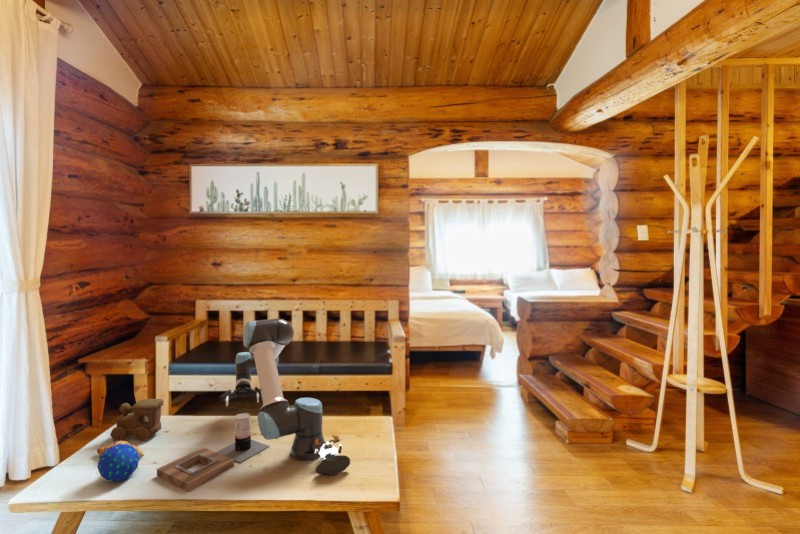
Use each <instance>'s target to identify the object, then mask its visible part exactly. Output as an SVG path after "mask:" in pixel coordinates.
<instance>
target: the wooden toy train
mask: <svg viewBox="0 0 800 534" xmlns="http://www.w3.org/2000/svg"><path fill="white" fill-rule="evenodd" d="M164 404H165V403H164V399H163V398H146V399H145V398H144V399H141V400H139V401H138V402H136V403H134V404H133V405H132V406H131V405H130V403H128V402H124V403H122V404H121V405H120V407H119V411H120V413H121V415H120V416H118V417H117V418H116V427H113V428H112V430H111V431H110V433H109V436H110V438H111V439H112V440H113V441H115V442H116V441H125V439H126V438H127V437H134V439H135V440H136V441H137V442H145V441H147V440H148V439H149V437H151V436H154V435H155V434H156V433H158V432H159V431H160V430H162V422H161V417H162V415H161V414H162V406H164ZM129 412H130V413H129Z"/></svg>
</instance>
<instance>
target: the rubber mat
mask: <svg viewBox="0 0 800 534" xmlns="http://www.w3.org/2000/svg"><path fill="white" fill-rule="evenodd" d="M268 447H269V448H270V445H268V444H265V443H262V442H260V441H257V440H253V439H251V448H250V449H249V450H248V451H245V452H237V451H236V450H235V442H233V443H232V444H229V445H226V446H225V447H223V448H222V449H219V450H217V451H215V452H216V453H219V454H221V455H224V456H226V457H229V458H231V459H234V462H235V463H238V464H242V463H243V462H245V461H247V460H249V459H250V458H252V457H254V456H256V455H258V454H259V452H260V453H261V451H262V452H263V451H265V450H266V448H267V449H268Z"/></svg>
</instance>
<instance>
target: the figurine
mask: <svg viewBox="0 0 800 534" xmlns="http://www.w3.org/2000/svg"><path fill="white" fill-rule="evenodd" d="M332 438H333V439H330V440H327V441H325V442H321V443H319V439H320V438H319V439H316V440H314V442H315V443H314V445H313V446H316V447H320V446H322V447H321V448H320V451H319V453H318V449H317V451H316V449H315V453H316V455H317V458H316V459H319V460H320V461H321V462H320V463H318V465H317V466H316V468H315V473H316V474H318V475H320V476H321V475H330V476H335V475H337V474H340V473H342V472H344V471H346V469H347V468H349V466H350V465H351V459H350V457H349V456H347V455H340V454H341V453H342V449H343V445H342V443H339V442H340V441H341V440H342V439H340V436H338V435H332ZM332 442H333V443H332ZM322 443H324V444H323V445H321V444H322ZM336 443H339V444H338V447H339V448H338V447H336V446H335V445H334V444H336Z"/></svg>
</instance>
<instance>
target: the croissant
mask: <svg viewBox="0 0 800 534" xmlns="http://www.w3.org/2000/svg"><path fill="white" fill-rule="evenodd" d="M117 444H129V445H131V446H133V447H134V448H135V449H137V452H138V454H139V459H141V458H143V457H144V451H142V449H140V448H139V446H137V445H136V444H131V443H130V442H128V441H127V440H123V441H115V442H114V443H110V444H108V445H105V446H103V447H99V448H97V449H96V452H97V454H98V455H99V457H100V456H101V455H102V454H103V453H104V452H105V451H106V449H108V448H110V447H112V446H115V445H117Z"/></svg>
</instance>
